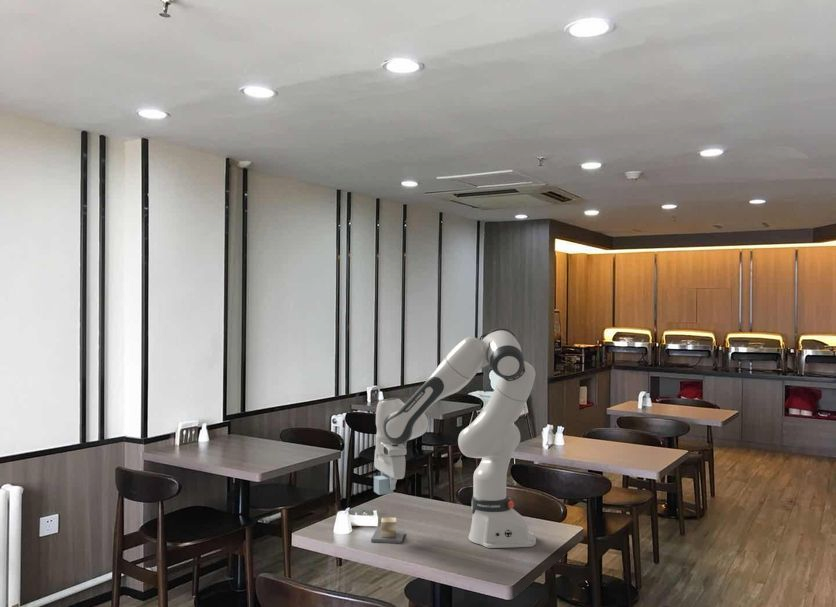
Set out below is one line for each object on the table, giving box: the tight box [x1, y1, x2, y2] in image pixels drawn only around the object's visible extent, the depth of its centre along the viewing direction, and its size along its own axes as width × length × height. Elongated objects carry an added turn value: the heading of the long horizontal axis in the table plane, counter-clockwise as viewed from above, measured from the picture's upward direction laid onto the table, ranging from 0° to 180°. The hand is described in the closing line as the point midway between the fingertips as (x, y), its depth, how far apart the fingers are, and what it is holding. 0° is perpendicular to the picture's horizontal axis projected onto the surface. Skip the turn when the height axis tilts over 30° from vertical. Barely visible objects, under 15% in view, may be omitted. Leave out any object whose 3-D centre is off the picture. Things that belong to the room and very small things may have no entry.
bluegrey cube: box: [373, 475, 394, 496], centre depth 228 cm, size 5×5×5 cm
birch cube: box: [380, 517, 397, 537], centre depth 228 cm, size 5×5×5 cm
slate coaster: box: [370, 529, 406, 544], centre depth 228 cm, size 10×10×1 cm
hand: (388, 487), depth 228 cm, fingers closed on bluegrey cube, 5 cm apart
